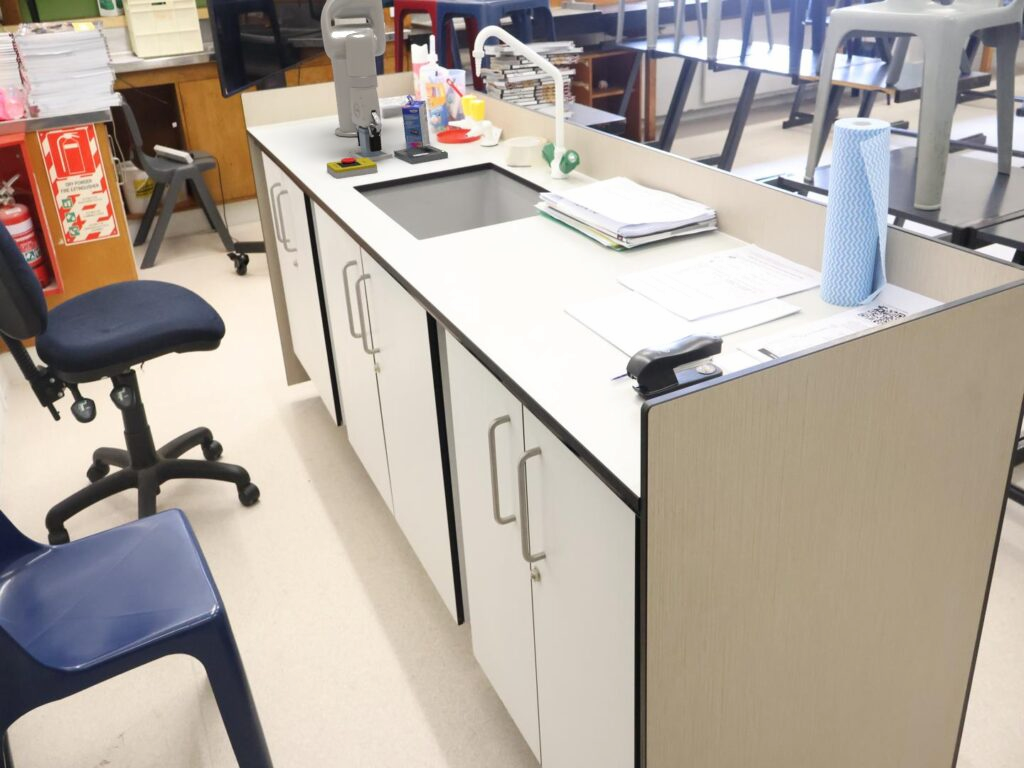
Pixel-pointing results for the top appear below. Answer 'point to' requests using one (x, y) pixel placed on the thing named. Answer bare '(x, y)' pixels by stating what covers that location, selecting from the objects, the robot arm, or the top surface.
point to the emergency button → (351, 167)
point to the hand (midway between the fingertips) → (370, 147)
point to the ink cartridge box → (415, 123)
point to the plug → (366, 143)
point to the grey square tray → (374, 158)
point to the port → (408, 155)
